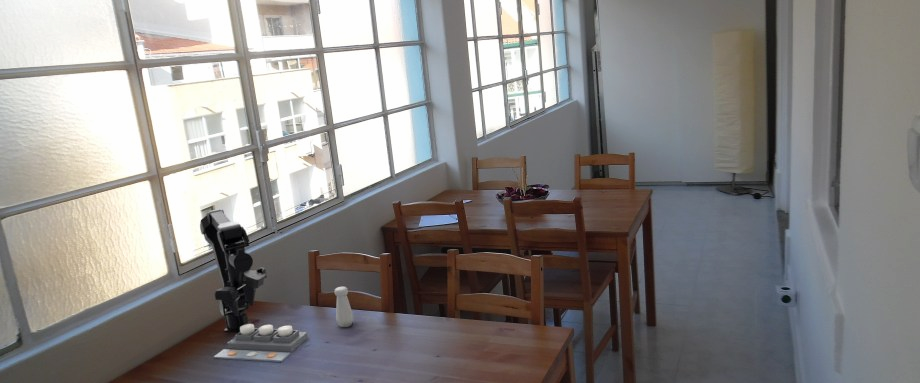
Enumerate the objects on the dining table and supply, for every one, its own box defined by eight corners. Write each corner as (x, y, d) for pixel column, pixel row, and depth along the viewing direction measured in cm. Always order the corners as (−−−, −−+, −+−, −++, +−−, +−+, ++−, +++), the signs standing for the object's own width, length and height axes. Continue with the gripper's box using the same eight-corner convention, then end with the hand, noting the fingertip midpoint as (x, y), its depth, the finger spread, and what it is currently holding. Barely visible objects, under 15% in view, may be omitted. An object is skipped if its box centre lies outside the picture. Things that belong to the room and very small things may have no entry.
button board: (228, 348, 219) (226, 338, 219) (246, 335, 229) (244, 325, 228) (291, 352, 212) (289, 341, 211) (307, 338, 222) (306, 327, 221)
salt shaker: (350, 328, 226) (345, 291, 223) (334, 328, 227) (329, 291, 224) (356, 321, 231) (351, 284, 229) (340, 321, 233) (335, 284, 230)
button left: (237, 334, 220) (236, 329, 220) (245, 328, 225) (244, 323, 224) (249, 335, 219) (248, 329, 219) (257, 329, 223) (256, 324, 223)
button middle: (256, 335, 218) (255, 330, 218) (264, 329, 222) (263, 324, 222) (268, 336, 217) (267, 330, 217) (276, 330, 221) (275, 324, 221)
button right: (275, 336, 216) (275, 331, 216) (283, 330, 220) (282, 325, 220) (288, 336, 215) (287, 331, 214) (295, 331, 219) (294, 325, 218)
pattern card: (214, 358, 213) (213, 355, 213) (224, 350, 218) (223, 348, 218) (281, 362, 206) (281, 359, 206) (290, 354, 211) (290, 352, 211)
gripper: (240, 274, 206) (249, 323, 209) (274, 254, 223) (282, 300, 226) (209, 274, 209) (218, 322, 213) (245, 254, 227) (252, 299, 230)
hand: (244, 310), depth 220 cm, fingers open, 8 cm apart
